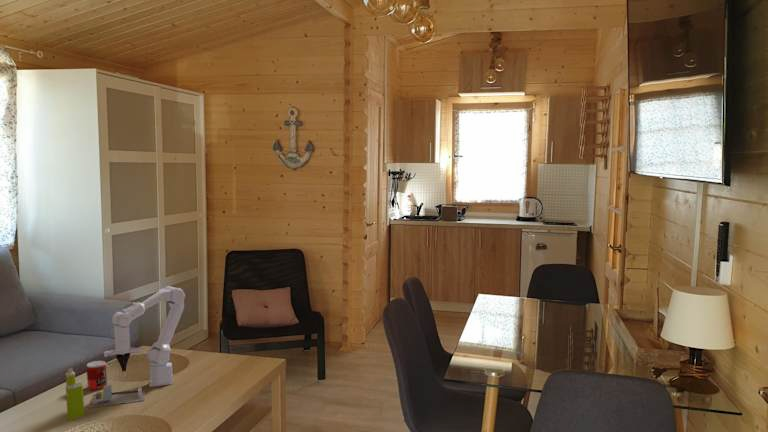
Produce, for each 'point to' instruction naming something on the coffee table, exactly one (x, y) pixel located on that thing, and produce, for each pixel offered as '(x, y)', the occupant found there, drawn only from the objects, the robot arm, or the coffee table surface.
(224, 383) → the coffee table surface
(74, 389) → the vape
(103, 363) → the canned food
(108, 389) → the sleeve
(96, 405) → the linear slide rail
